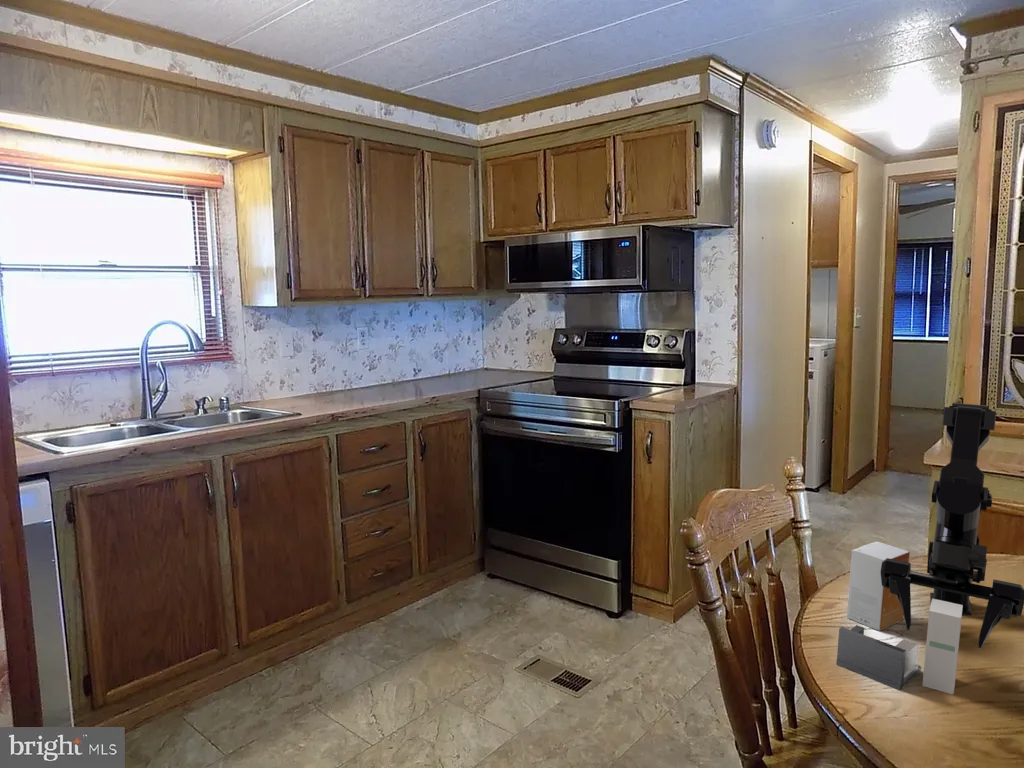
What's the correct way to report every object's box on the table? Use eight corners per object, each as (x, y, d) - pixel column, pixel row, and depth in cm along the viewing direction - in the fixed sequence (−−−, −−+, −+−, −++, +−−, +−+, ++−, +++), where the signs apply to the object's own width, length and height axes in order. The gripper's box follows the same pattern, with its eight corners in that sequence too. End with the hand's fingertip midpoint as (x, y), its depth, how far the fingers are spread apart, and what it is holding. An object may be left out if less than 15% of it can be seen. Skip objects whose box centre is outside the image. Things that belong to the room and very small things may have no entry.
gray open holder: (858, 647, 117) (861, 613, 117) (920, 671, 110) (923, 635, 109) (836, 664, 112) (838, 629, 111) (899, 690, 105) (903, 652, 104)
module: (925, 670, 110) (932, 598, 109) (955, 678, 108) (962, 605, 106) (922, 686, 106) (929, 610, 105) (953, 694, 104) (961, 618, 102)
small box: (880, 632, 123) (885, 560, 121) (845, 617, 128) (850, 549, 126) (904, 620, 127) (910, 551, 125) (870, 606, 132) (875, 540, 130)
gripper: (887, 509, 113) (871, 599, 105) (1031, 533, 102) (1024, 635, 95) (889, 542, 120) (874, 628, 113) (1024, 567, 110) (1017, 664, 102)
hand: (943, 638), depth 106 cm, fingers open, 9 cm apart
